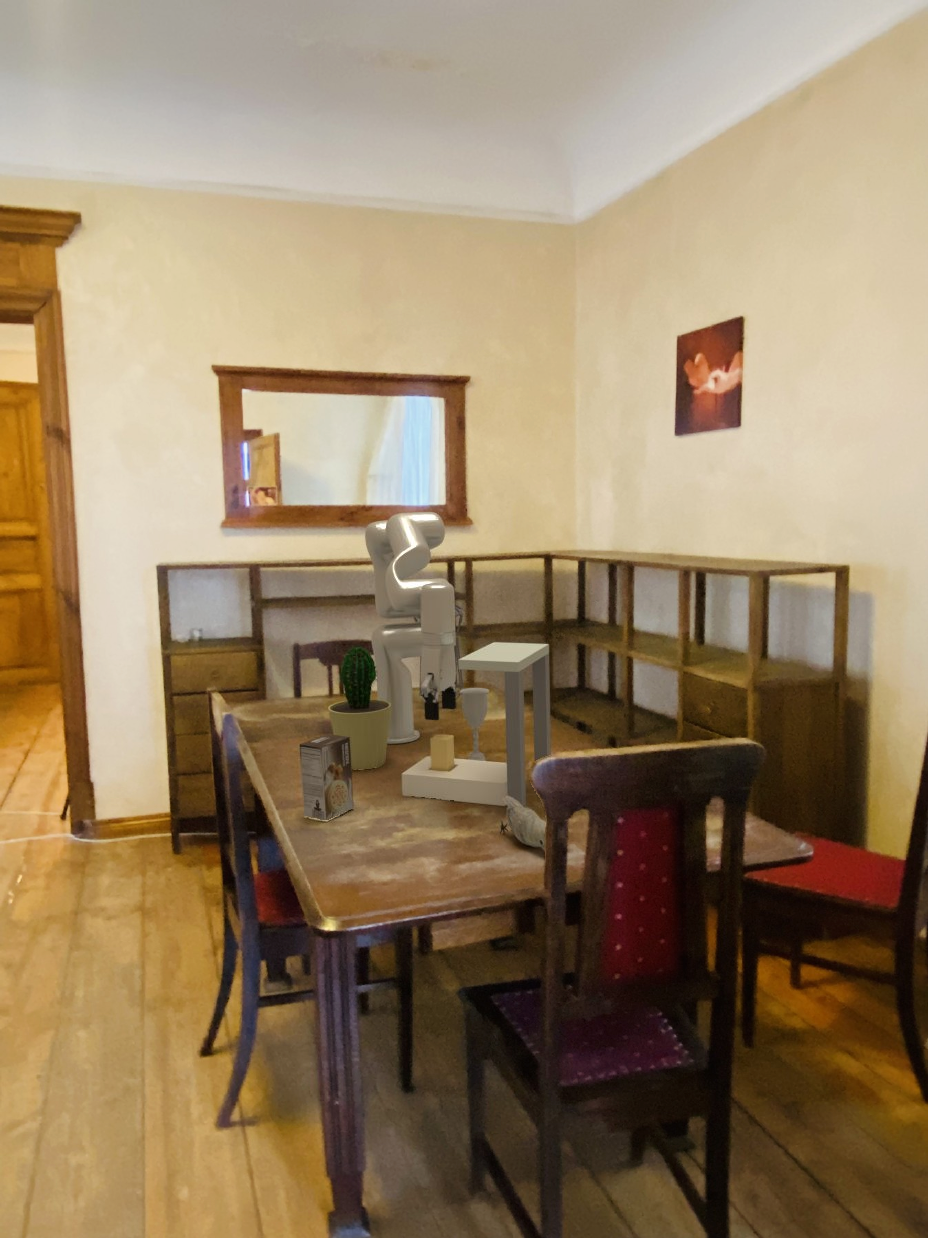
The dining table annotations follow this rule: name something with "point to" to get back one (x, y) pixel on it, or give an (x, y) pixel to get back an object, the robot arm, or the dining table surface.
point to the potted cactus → (361, 711)
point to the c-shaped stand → (519, 702)
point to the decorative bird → (524, 823)
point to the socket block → (458, 781)
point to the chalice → (475, 714)
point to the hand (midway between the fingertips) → (440, 714)
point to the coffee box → (326, 776)
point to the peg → (442, 752)
